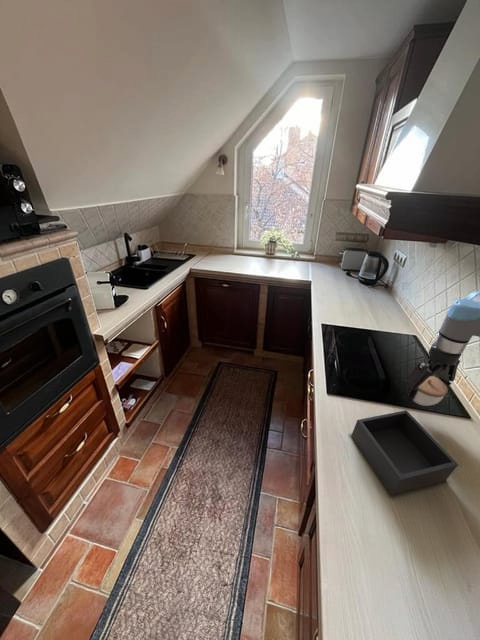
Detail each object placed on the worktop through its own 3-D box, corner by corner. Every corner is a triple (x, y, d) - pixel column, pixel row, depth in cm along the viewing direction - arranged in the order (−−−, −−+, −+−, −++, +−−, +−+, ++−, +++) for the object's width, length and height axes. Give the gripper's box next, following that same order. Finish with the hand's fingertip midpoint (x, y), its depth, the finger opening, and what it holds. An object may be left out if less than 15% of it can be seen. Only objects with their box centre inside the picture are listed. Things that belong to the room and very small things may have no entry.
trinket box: (399, 385, 95) (407, 366, 90) (430, 390, 93) (441, 371, 88) (408, 408, 86) (418, 388, 81) (444, 414, 84) (456, 394, 79)
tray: (397, 425, 86) (406, 410, 82) (445, 480, 71) (458, 464, 67) (351, 435, 82) (357, 419, 78) (390, 495, 67) (401, 479, 63)
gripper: (465, 336, 83) (438, 385, 95) (406, 345, 79) (384, 395, 90) (489, 350, 77) (457, 400, 88) (426, 360, 73) (400, 412, 84)
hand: (420, 398), depth 89 cm, fingers closed on trinket box, 11 cm apart
